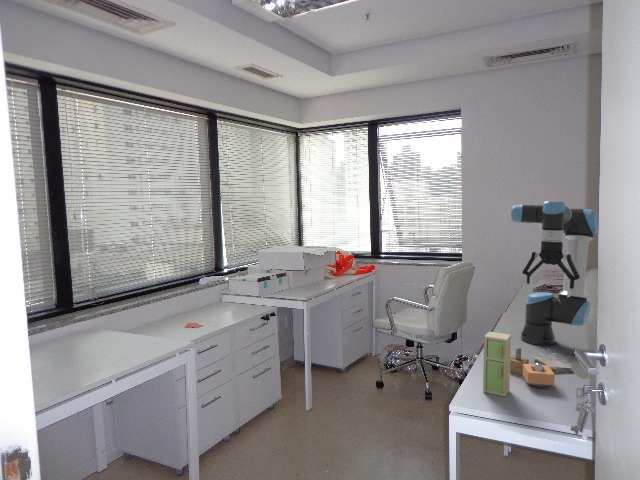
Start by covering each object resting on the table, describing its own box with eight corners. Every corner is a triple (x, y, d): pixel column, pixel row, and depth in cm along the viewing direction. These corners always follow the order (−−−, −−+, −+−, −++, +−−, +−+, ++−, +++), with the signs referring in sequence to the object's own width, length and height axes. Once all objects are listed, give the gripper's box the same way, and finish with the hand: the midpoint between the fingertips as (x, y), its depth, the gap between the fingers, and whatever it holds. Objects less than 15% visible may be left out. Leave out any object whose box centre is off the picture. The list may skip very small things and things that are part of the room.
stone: (530, 361, 198) (530, 355, 198) (554, 360, 199) (554, 354, 199) (550, 374, 184) (551, 368, 184) (576, 373, 185) (576, 367, 184)
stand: (511, 366, 191) (512, 344, 190) (528, 370, 187) (529, 347, 186) (507, 371, 186) (508, 348, 185) (523, 375, 182) (525, 352, 181)
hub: (529, 379, 179) (530, 359, 178) (550, 383, 174) (551, 363, 173) (524, 385, 173) (525, 364, 172) (545, 390, 169) (546, 369, 168)
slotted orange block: (522, 373, 179) (523, 363, 178) (547, 375, 177) (548, 365, 176) (527, 383, 170) (528, 372, 170) (554, 385, 168) (554, 374, 168)
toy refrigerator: (481, 392, 167) (483, 336, 164) (486, 385, 173) (488, 331, 170) (504, 398, 162) (507, 340, 160) (509, 390, 168) (511, 334, 166)
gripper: (515, 239, 185) (513, 291, 187) (587, 243, 169) (583, 300, 172) (520, 238, 191) (518, 288, 193) (590, 242, 175) (586, 296, 178)
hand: (549, 294), depth 182 cm, fingers open, 13 cm apart
